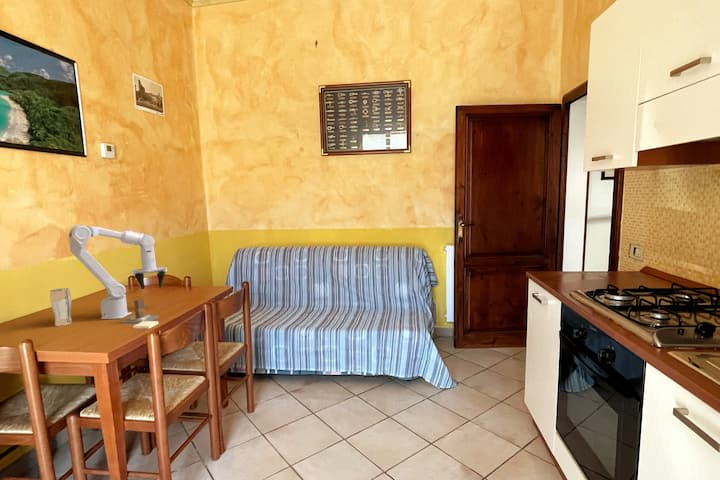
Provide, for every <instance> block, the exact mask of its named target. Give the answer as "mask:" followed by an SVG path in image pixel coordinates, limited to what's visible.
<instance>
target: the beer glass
mask: <svg viewBox="0 0 720 480" xmlns="http://www.w3.org/2000/svg"><path fill="white" fill-rule="evenodd" d="M70 290H71V289H70V288H69V287H61V288H55V289H50V290H49V299H50V300H49V301H50V307H51V308H52V311H53V315H54V326H55V327H62V326H66V325H71V324H72V323H73V319H72V316H71V309H72V296H71V291H70Z"/></svg>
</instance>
